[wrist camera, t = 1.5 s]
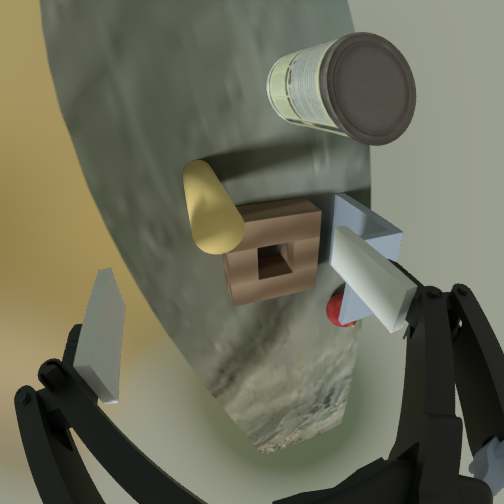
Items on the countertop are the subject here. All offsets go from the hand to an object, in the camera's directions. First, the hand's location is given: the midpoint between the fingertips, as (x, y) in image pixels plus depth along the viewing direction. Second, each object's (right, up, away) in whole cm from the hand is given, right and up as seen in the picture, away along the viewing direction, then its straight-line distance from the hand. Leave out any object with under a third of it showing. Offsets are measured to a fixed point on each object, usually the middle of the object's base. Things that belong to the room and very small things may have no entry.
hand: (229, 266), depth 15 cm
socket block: (+3, +2, +24) cm, 24 cm away
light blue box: (+12, +4, +26) cm, 29 cm away
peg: (-5, +10, +16) cm, 20 cm away
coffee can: (+8, +21, +14) cm, 27 cm away
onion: (+16, -7, +34) cm, 38 cm away
